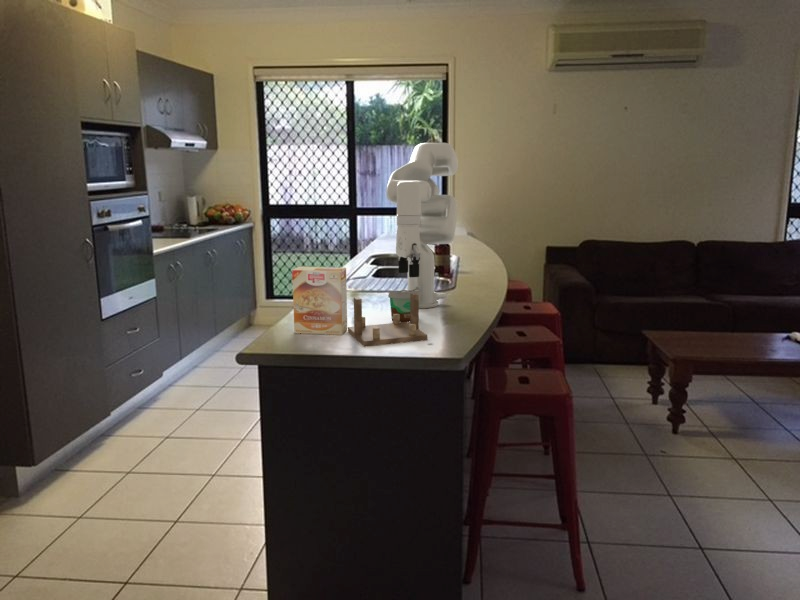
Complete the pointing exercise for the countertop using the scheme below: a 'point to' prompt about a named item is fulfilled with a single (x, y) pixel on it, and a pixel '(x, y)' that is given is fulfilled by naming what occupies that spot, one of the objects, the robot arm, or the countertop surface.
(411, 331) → the peg stand
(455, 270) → the countertop surface
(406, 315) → the food container
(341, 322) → the coffeecake box
